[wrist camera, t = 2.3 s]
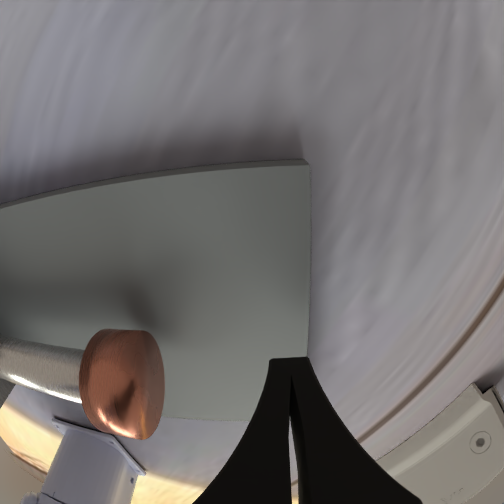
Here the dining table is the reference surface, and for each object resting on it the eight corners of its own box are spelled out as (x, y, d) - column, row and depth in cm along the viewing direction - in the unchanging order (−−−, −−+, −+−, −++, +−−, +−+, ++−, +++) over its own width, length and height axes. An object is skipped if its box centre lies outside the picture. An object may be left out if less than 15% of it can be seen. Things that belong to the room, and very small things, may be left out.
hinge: (474, 379, 16) (530, 462, 8) (487, 372, 19) (537, 443, 11) (353, 474, 23) (387, 541, 15) (379, 463, 25) (411, 523, 17)
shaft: (171, 380, 13) (149, 458, 9) (-6, 348, 14) (-36, 388, 10) (145, 307, 11) (102, 393, 7) (-34, 296, 12) (-71, 334, 8)
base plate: (299, 399, 17) (301, 419, 15) (4, 365, 18) (-3, 375, 17) (303, 159, 11) (309, 165, 9) (-59, 224, 12) (-71, 231, 11)
